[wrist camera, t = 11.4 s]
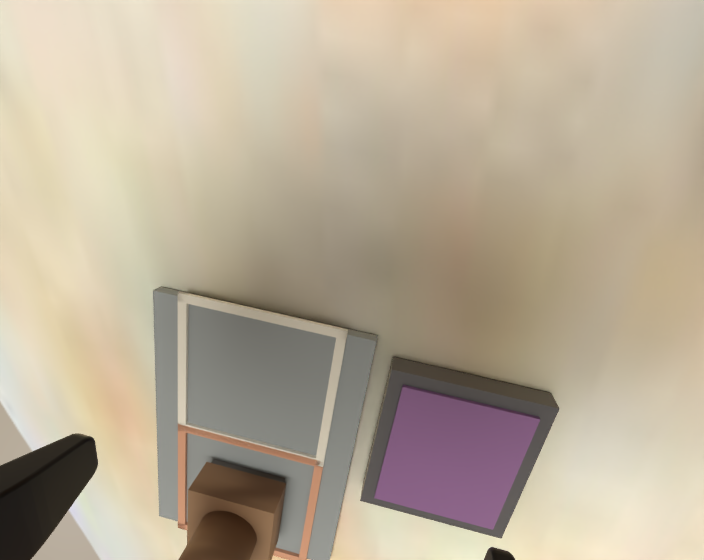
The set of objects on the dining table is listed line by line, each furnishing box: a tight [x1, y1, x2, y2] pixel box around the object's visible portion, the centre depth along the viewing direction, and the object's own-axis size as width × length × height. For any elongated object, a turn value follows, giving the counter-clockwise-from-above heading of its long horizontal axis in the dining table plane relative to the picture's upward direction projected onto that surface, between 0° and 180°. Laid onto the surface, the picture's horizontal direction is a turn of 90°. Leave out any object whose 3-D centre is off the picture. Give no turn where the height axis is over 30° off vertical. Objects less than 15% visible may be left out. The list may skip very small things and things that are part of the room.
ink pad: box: [360, 357, 559, 538], centre depth 20 cm, size 8×9×1 cm
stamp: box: [179, 459, 286, 560], centre depth 21 cm, size 5×5×6 cm
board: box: [153, 287, 378, 560], centre depth 23 cm, size 12×18×1 cm
